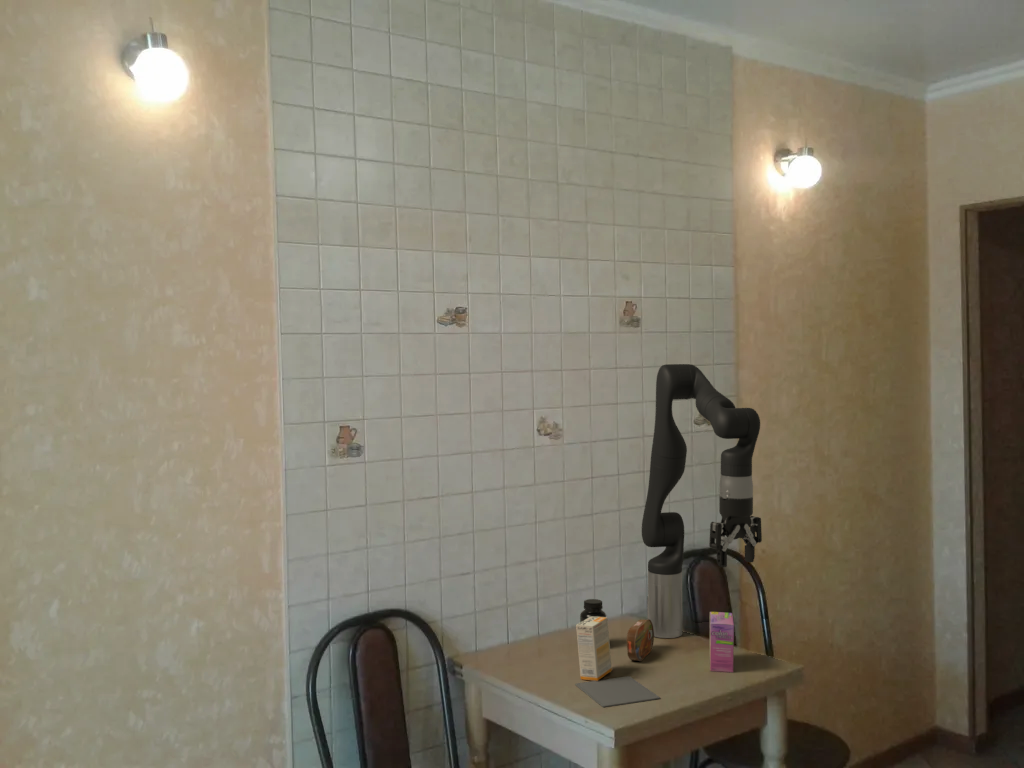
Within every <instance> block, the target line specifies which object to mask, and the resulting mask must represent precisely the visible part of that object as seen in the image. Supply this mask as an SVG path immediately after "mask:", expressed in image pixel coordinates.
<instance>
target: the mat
mask: <svg viewBox="0 0 1024 768" xmlns="http://www.w3.org/2000/svg"><path fill="white" fill-rule="evenodd" d="M574 685H575V686H576V687H577V688H578V689H580V690H581V692H583V693H584V694H586V695H587V696H588V697H590V698H591V699H592V700H593V701H594V702H595V703H597V704H598V705H599V704H600V707H602V708H608V707H609V706H610V707H615V706H622V705H629V704H635V703H641V702H647V701H655V700H660V699H661V697H660V696H659V695H657V694H656V693H654V692H653V691H651V690H650V689H649V688H648V687H646V686H645V685H643V684H642V683H641V682H638V681H637V680H636V679H635V678H633V677H632V676H631V675H628V676H620V677H614V678H613V677H612V678H607V679H600V680H598V681H592V680H589V681H584V682H576V683H575V684H574Z"/></svg>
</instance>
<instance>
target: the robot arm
mask: <svg viewBox="0 0 1024 768" xmlns="http://www.w3.org/2000/svg"><path fill="white" fill-rule="evenodd" d="M655 381H656V382H655V411H654V413H655V414H654V415H655V417H654V427H653V429H654V430H653V439H652V445H651V454H650V464H649V476H648V477H649V478H648V487H647V494H646V495H647V496H646V500H645V505H644V509H643V513H642V514H643V515H642V520H641V539H642V542H643V544H644V545H645V546H646V547H648V548H665V549H664V550H663V551H662V552H661V553H660V554H658V555H656V556H655V557H652V558H650V559H649V560H648V561H647V598H646V599H647V601H646V603H647V605H646V607H647V609H646V610H647V614H646V615H647V619H646V620H648V619H649V620H651V622H652V624H653V630H654V638H660V639H674V638H679V637H681V636H682V635H683V563H684V553H685V552H684V551H685V550H684V548H685V523H684V520H683V517H682V516H681V514H680V513H679V512H676V511H673V512H672V511H668V512H662V511H663V510H662V509H663V506H664V504H665V501H666V500H667V498H668V496H669V495H670V493H671V492H672V490H673V489H674V488H675V487H676V485H677V484H678V483H679V482H680V480H681V479H682V477H683V475H684V473H685V470H686V461H687V453H688V447H687V443H686V440H685V438H684V437H683V435H682V433H681V431H680V429H679V427H678V426H677V424H676V422H675V419H674V416H673V401H674V400H675V401H677V400H678V401H679V400H690V399H691V400H692V399H694V400H695V406H696V409H697V411H698V413H699V414H700V415H701V417H703V418H705V419H706V421H708V422H709V424H710V425H711V427H712V430H713V432H714V434H715V435H716V436H717V437H719V438H720V439H724V440H731V439H732V440H733V439H737V440H738V441H737V443H736V445H735V446H733V447H731V448H727V449H724V450H723V451H722V452H721V453H720V479H719V494H718V495H719V497H718V499H719V502H718V503H719V504H718V505H719V506H718V507H719V508H718V509H719V514H720V516H721V520H720V522H717V521H711V522H710V525H709V527H710V528H709V545H708V546H709V548H710V549H714V550H716V564H717V566H718V567H720V568H727V566H728V552H727V549H728V547H729V545H731V544H732V543H733V541H734V540H738V539H741V540H742V541H743V542H744V544H745V545H744V561H745V562H746V563H753V562H755V557H756V555H755V550H756V549H755V548H756V546H757V544H758V543H759V544H760V543H762V541H763V540H762V539H763V538H762V537H763V535H762V533H763V532H762V519H761V517H760V516H754V483H753V482H754V481H753V456H754V451H755V448H756V444H757V442H758V441H757V440H758V437H759V434H760V430H761V419H760V415H759V414H758V412H757V411H756V410H755V409H754V408H752V407H736V406H735V404H734V402H732V401H731V399H729V398H728V397H727V396H725V395H724V394H722V393H721V392H720V391H718V390H717V389H716V388H715V386H713V384H712V383H711V382H710V381H709V379H708V377H706V375H705V374H704V373H703V372H702V370H701V369H699V367H697V366H696V365H695V364H688V363H673V364H662V365H661V366H660V367H659V369H658V372H657V374H656V380H655Z"/></svg>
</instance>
